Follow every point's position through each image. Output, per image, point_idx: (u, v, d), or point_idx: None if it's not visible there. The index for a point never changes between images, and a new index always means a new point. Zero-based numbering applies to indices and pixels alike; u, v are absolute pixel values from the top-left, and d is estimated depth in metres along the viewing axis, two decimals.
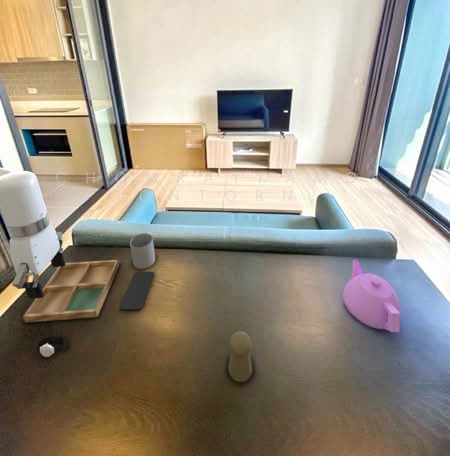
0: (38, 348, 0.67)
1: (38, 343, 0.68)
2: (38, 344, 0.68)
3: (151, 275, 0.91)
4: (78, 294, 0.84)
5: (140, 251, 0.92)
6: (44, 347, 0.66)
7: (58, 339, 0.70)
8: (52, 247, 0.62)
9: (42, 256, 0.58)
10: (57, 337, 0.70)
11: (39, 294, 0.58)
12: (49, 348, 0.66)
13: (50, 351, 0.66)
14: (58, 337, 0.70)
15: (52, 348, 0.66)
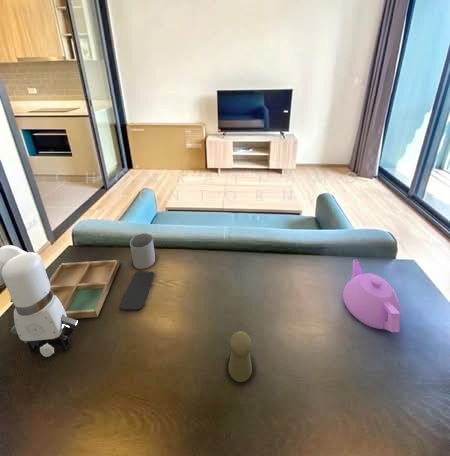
0: (38, 348, 0.67)
1: (38, 343, 0.68)
2: (38, 344, 0.68)
3: (151, 275, 0.91)
4: (78, 294, 0.84)
5: (140, 251, 0.92)
6: (44, 347, 0.66)
7: (58, 339, 0.70)
8: None
9: None
10: (57, 337, 0.70)
11: None
12: (49, 348, 0.66)
13: (50, 351, 0.66)
14: (58, 337, 0.70)
15: (52, 348, 0.66)
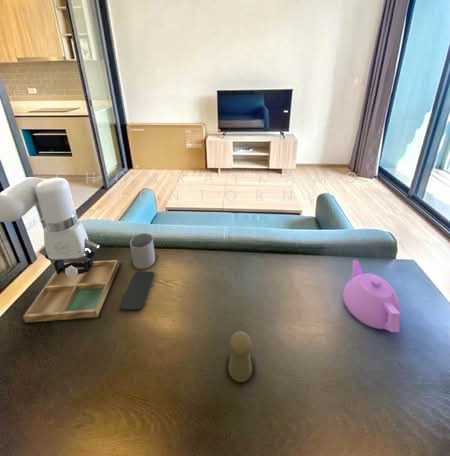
0: (63, 270, 0.75)
1: (63, 267, 0.76)
2: (63, 268, 0.76)
3: (151, 275, 0.91)
4: (78, 294, 0.84)
5: (139, 251, 0.92)
6: (69, 268, 0.74)
7: (80, 265, 0.78)
8: None
9: None
10: (79, 263, 0.78)
11: None
12: (73, 269, 0.74)
13: (74, 272, 0.74)
14: (80, 263, 0.78)
15: (76, 269, 0.74)
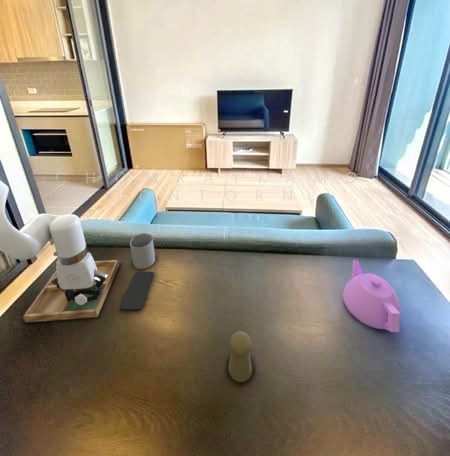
0: (73, 298, 0.80)
1: (73, 294, 0.81)
2: (73, 295, 0.81)
3: (151, 275, 0.91)
4: None
5: (140, 251, 0.92)
6: (79, 296, 0.79)
7: (89, 292, 0.83)
8: None
9: None
10: (88, 290, 0.83)
11: None
12: (83, 297, 0.79)
13: (84, 300, 0.79)
14: (89, 290, 0.83)
15: (85, 297, 0.79)
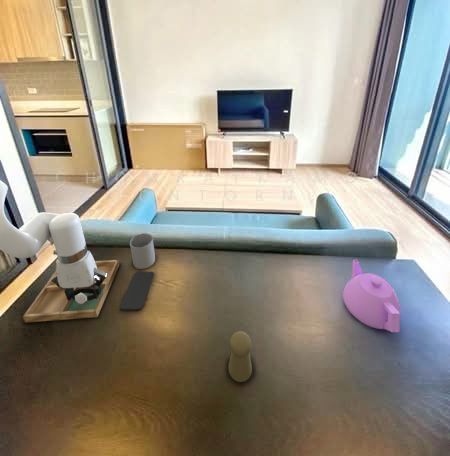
0: (73, 296, 0.79)
1: (73, 293, 0.81)
2: (73, 294, 0.81)
3: (151, 275, 0.91)
4: None
5: (139, 251, 0.92)
6: (79, 295, 0.79)
7: (89, 291, 0.83)
8: None
9: None
10: (88, 289, 0.83)
11: None
12: (83, 296, 0.79)
13: (84, 299, 0.79)
14: (89, 289, 0.83)
15: (85, 296, 0.79)
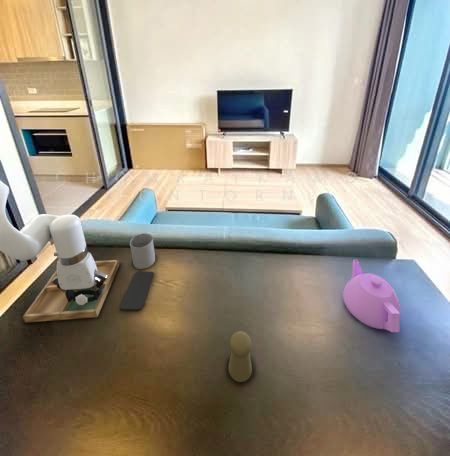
0: (74, 298, 0.80)
1: (73, 294, 0.81)
2: (73, 295, 0.81)
3: (151, 275, 0.91)
4: None
5: (139, 251, 0.92)
6: (79, 297, 0.79)
7: (89, 292, 0.83)
8: None
9: None
10: (88, 291, 0.83)
11: None
12: (83, 297, 0.79)
13: (84, 300, 0.79)
14: (89, 291, 0.83)
15: (86, 298, 0.79)
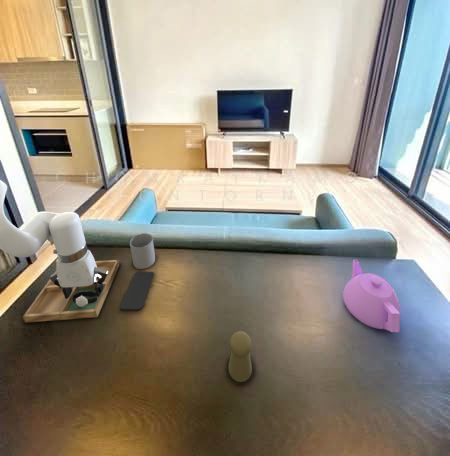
0: (74, 299, 0.80)
1: (73, 296, 0.81)
2: (73, 297, 0.81)
3: (151, 275, 0.91)
4: None
5: (140, 251, 0.92)
6: (79, 298, 0.79)
7: (90, 294, 0.83)
8: None
9: None
10: (89, 292, 0.83)
11: None
12: (83, 299, 0.79)
13: (84, 302, 0.79)
14: (90, 292, 0.83)
15: (86, 299, 0.79)
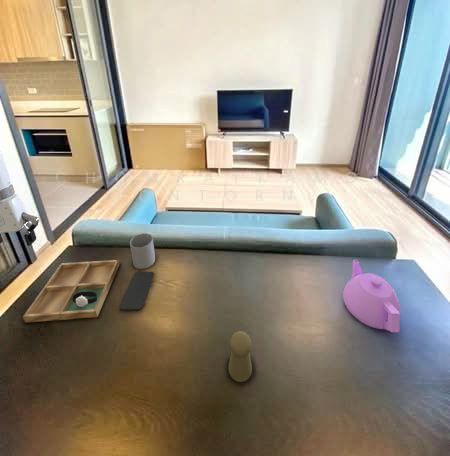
0: (74, 299, 0.80)
1: (73, 296, 0.81)
2: (73, 297, 0.81)
3: (151, 275, 0.91)
4: None
5: (140, 251, 0.92)
6: (79, 298, 0.79)
7: (90, 294, 0.83)
8: None
9: None
10: (89, 292, 0.83)
11: None
12: (83, 299, 0.79)
13: (84, 302, 0.79)
14: (90, 292, 0.83)
15: (86, 299, 0.79)
